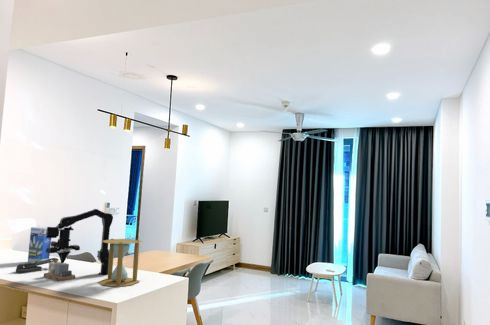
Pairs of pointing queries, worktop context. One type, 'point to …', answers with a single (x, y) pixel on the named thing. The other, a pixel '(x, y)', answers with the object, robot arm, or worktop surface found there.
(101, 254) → the robot arm
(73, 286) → the worktop surface
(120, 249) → the hourglass
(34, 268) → the dark grey stapler
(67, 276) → the rail board
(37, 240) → the blue printed box
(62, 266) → the block
